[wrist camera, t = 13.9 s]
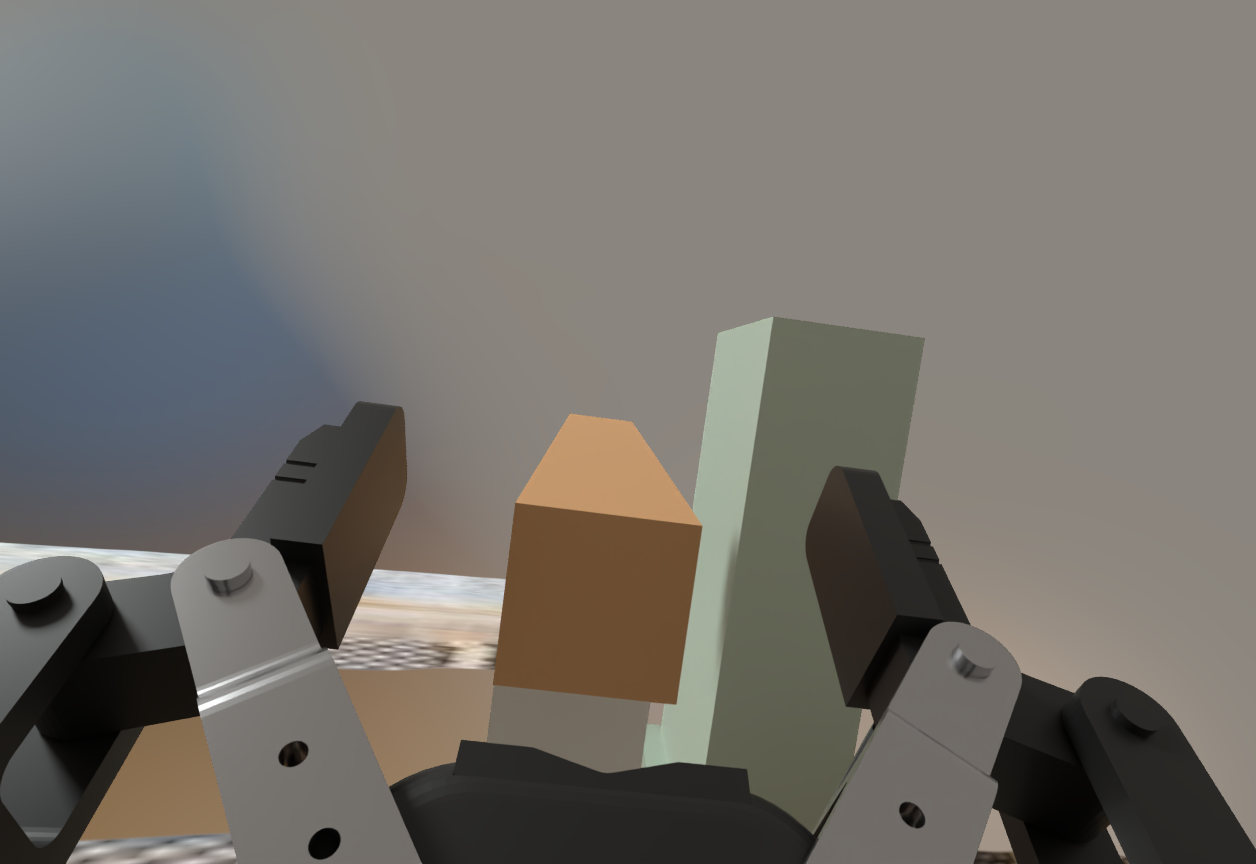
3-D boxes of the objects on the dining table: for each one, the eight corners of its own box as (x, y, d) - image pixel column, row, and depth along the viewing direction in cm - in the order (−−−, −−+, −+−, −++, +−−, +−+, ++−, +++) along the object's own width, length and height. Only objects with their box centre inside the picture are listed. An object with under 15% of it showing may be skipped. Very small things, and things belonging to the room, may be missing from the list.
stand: (659, 913, 37) (748, 310, 34) (638, 735, 55) (696, 331, 52) (860, 931, 37) (963, 341, 35) (774, 749, 55) (838, 351, 53)
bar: (493, 684, 13) (515, 502, 13) (562, 475, 39) (570, 413, 39) (676, 704, 13) (702, 525, 13) (623, 483, 39) (632, 421, 39)
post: (431, 1191, 23) (509, 557, 21) (480, 945, 33) (537, 497, 31) (579, 1201, 24) (668, 576, 22) (583, 954, 34) (645, 511, 32)
